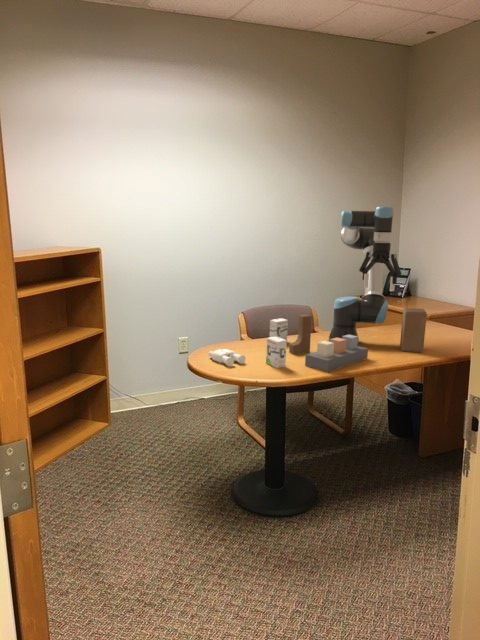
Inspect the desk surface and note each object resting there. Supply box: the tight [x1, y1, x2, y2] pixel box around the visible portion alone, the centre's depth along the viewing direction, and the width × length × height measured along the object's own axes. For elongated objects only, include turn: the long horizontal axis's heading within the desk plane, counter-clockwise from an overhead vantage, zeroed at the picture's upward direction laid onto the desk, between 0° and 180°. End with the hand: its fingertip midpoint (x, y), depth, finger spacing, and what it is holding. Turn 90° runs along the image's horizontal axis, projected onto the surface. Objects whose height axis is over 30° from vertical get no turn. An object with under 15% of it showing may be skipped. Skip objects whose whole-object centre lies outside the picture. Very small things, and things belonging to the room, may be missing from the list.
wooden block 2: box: [399, 307, 428, 353], centre depth 249 cm, size 10×10×20 cm
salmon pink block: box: [330, 338, 346, 354], centre depth 226 cm, size 5×5×7 cm
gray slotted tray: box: [304, 345, 369, 373], centre depth 227 cm, size 12×30×5 cm, turn 133°
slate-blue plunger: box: [342, 335, 359, 350], centre depth 232 cm, size 5×5×7 cm
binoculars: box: [207, 348, 246, 367], centre depth 227 cm, size 10×16×5 cm, turn 37°
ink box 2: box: [265, 336, 288, 369], centre depth 221 cm, size 9×5×12 cm, turn 32°
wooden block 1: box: [288, 314, 312, 356], centre depth 240 cm, size 9×4×18 cm, turn 112°
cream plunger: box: [316, 340, 334, 358], centre depth 220 cm, size 5×5×7 cm
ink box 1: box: [269, 317, 289, 342], centre depth 260 cm, size 9×5×12 cm, turn 131°
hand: (378, 289), depth 232 cm, fingers open, 13 cm apart
